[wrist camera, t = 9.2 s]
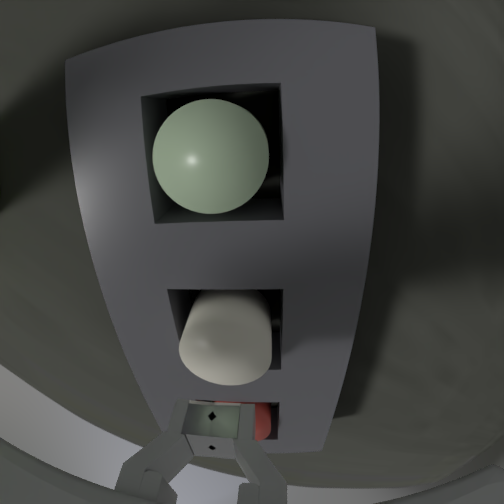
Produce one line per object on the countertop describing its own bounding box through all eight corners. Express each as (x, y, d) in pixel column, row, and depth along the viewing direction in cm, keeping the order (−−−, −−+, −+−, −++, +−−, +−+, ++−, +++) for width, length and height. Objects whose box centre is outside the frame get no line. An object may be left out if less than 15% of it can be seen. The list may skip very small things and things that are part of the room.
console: (99, 66, 11) (64, 60, 8) (353, 43, 10) (375, 27, 8) (177, 418, 22) (170, 446, 19) (318, 421, 21) (321, 450, 19)
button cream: (187, 280, 14) (170, 319, 11) (271, 280, 14) (271, 321, 11) (198, 342, 16) (187, 382, 13) (271, 343, 16) (271, 386, 13)
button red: (210, 376, 18) (203, 412, 16) (271, 377, 18) (270, 414, 15) (217, 409, 20) (212, 441, 17) (270, 410, 20) (270, 443, 17)
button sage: (173, 108, 11) (148, 106, 9) (266, 100, 11) (266, 95, 9) (181, 194, 13) (159, 216, 10) (269, 191, 13) (270, 212, 10)
